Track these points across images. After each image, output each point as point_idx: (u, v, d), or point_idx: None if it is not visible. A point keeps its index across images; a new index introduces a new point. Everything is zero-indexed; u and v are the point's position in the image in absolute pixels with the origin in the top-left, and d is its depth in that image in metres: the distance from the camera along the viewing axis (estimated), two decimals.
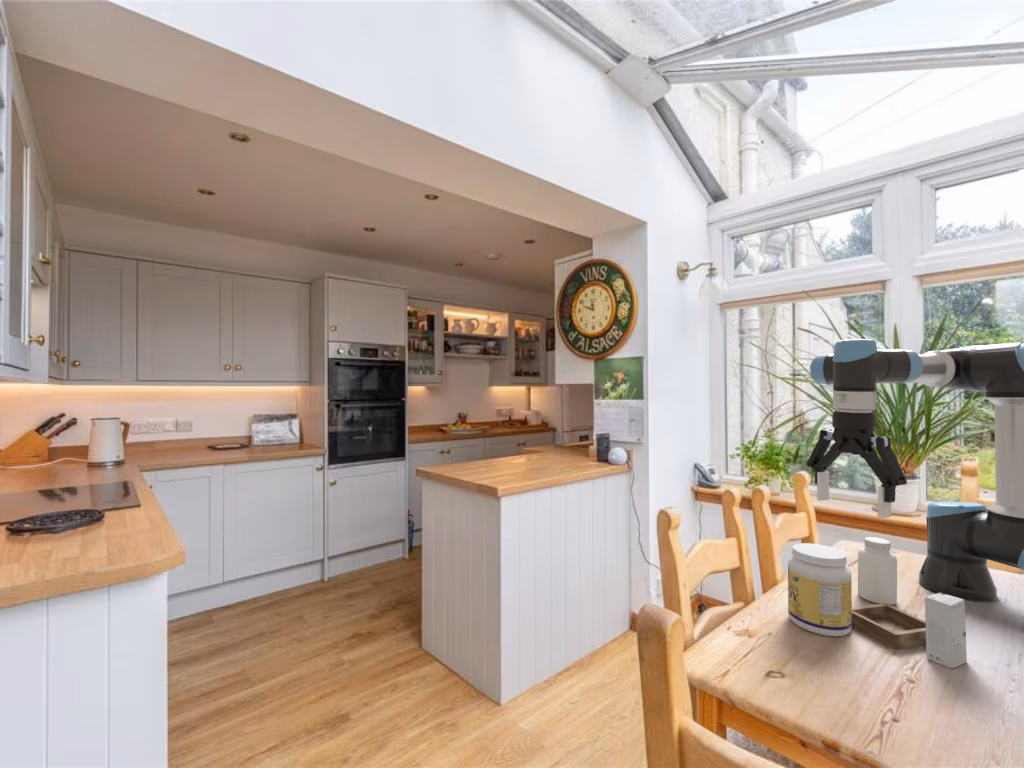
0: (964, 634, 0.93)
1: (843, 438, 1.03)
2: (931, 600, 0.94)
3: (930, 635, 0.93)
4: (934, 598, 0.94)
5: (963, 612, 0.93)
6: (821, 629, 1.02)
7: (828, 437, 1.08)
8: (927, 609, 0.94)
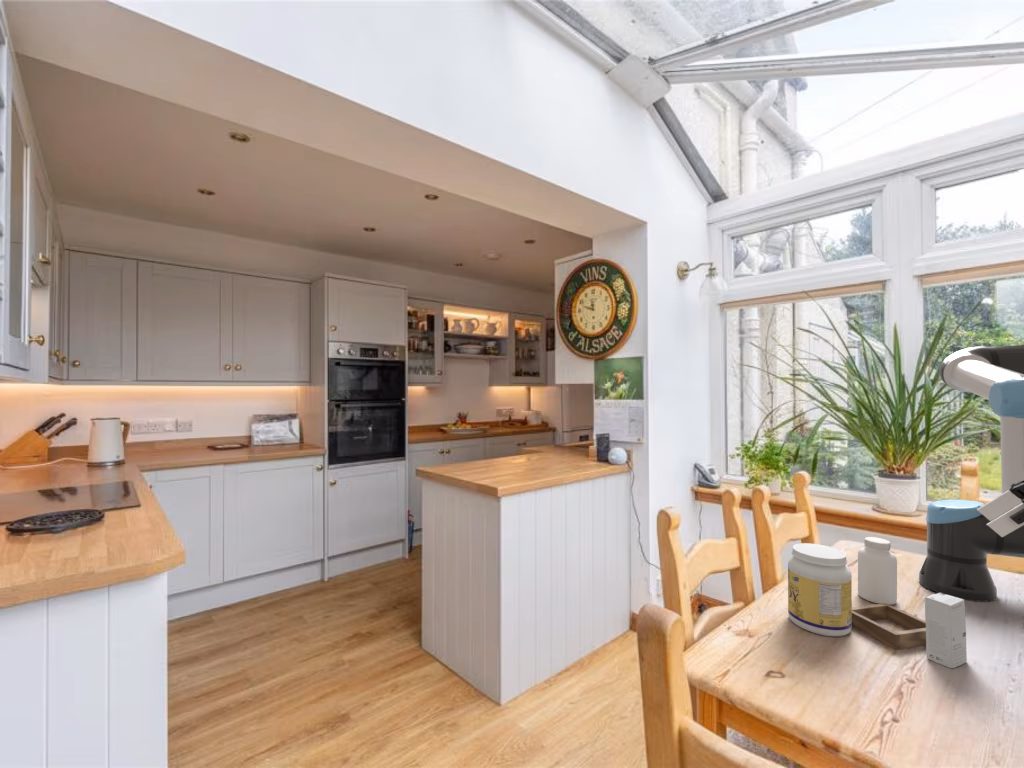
0: (964, 634, 0.93)
1: None
2: (931, 600, 0.94)
3: (930, 635, 0.93)
4: (934, 598, 0.94)
5: (963, 612, 0.93)
6: (821, 629, 1.02)
7: None
8: (927, 609, 0.94)
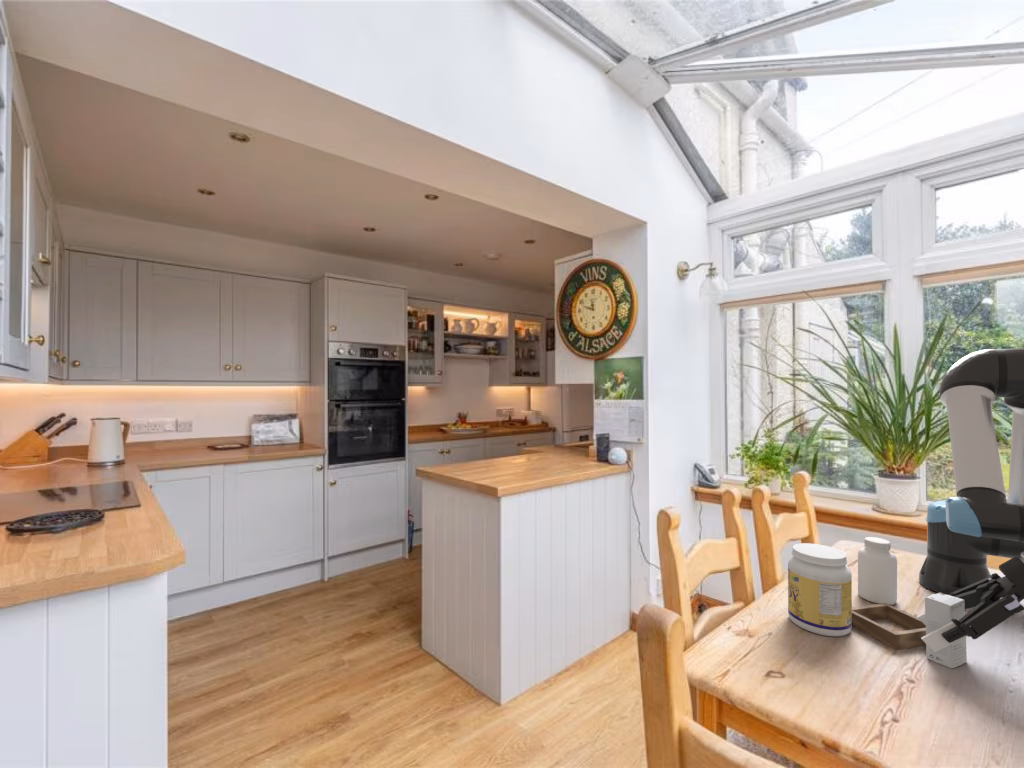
0: None
1: None
2: (931, 600, 0.94)
3: None
4: (934, 598, 0.94)
5: (963, 612, 0.93)
6: (821, 629, 1.02)
7: None
8: (927, 609, 0.94)
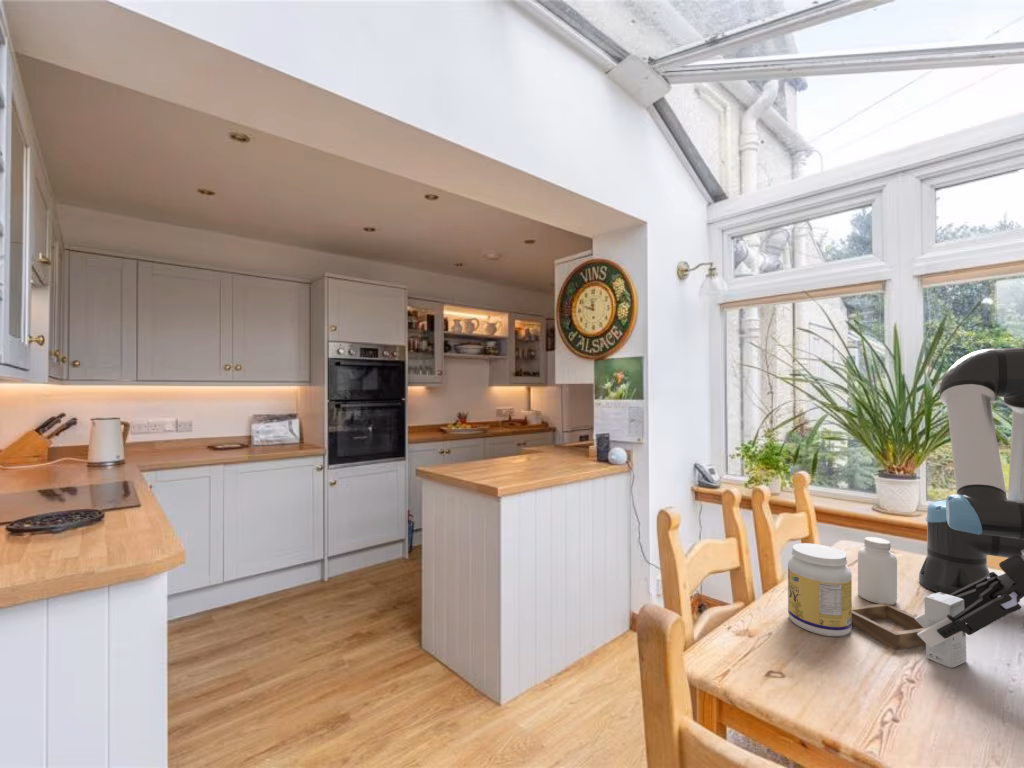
0: (963, 633, 0.93)
1: None
2: (930, 600, 0.94)
3: None
4: (933, 598, 0.94)
5: None
6: (821, 629, 1.02)
7: None
8: (926, 608, 0.94)
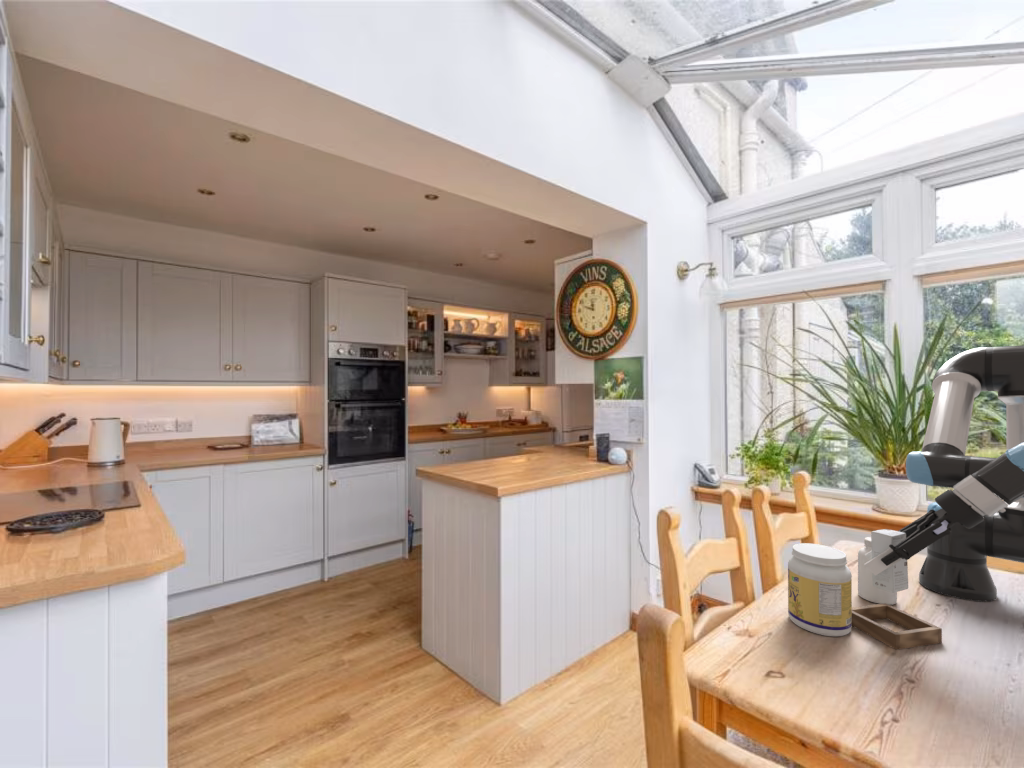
0: (905, 563, 1.03)
1: None
2: (876, 533, 1.04)
3: None
4: (878, 532, 1.04)
5: None
6: (821, 629, 1.02)
7: None
8: (873, 542, 1.05)
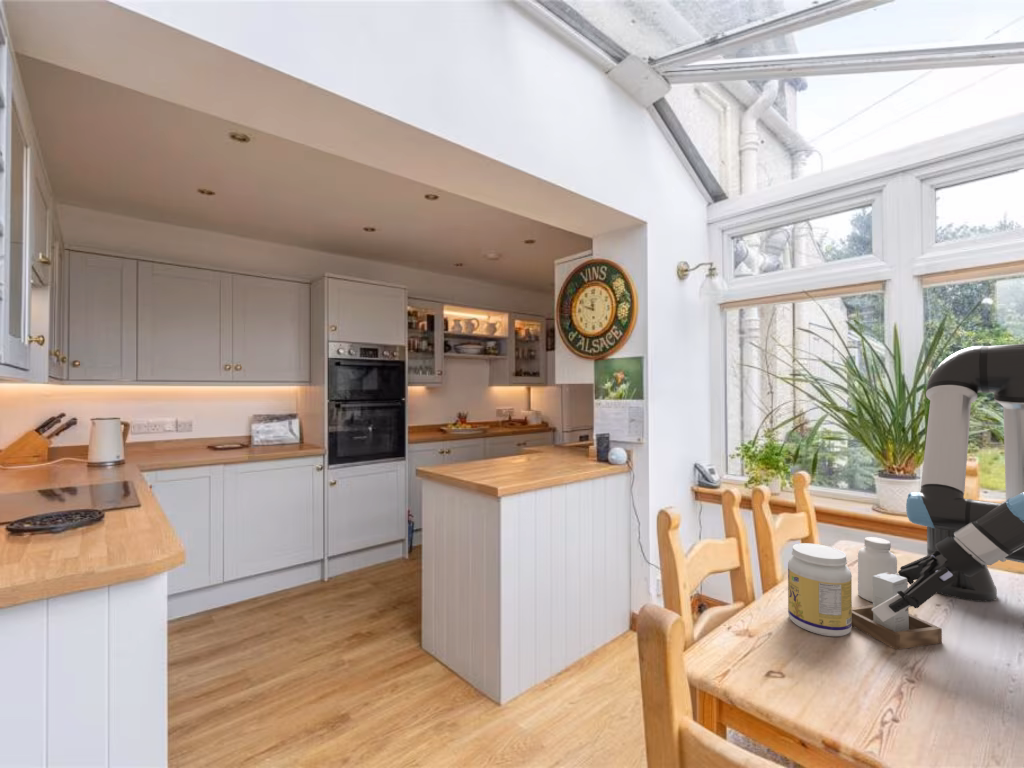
0: (906, 609, 1.03)
1: None
2: (877, 579, 1.04)
3: None
4: (880, 577, 1.04)
5: (906, 589, 1.04)
6: (821, 629, 1.02)
7: None
8: (874, 586, 1.05)
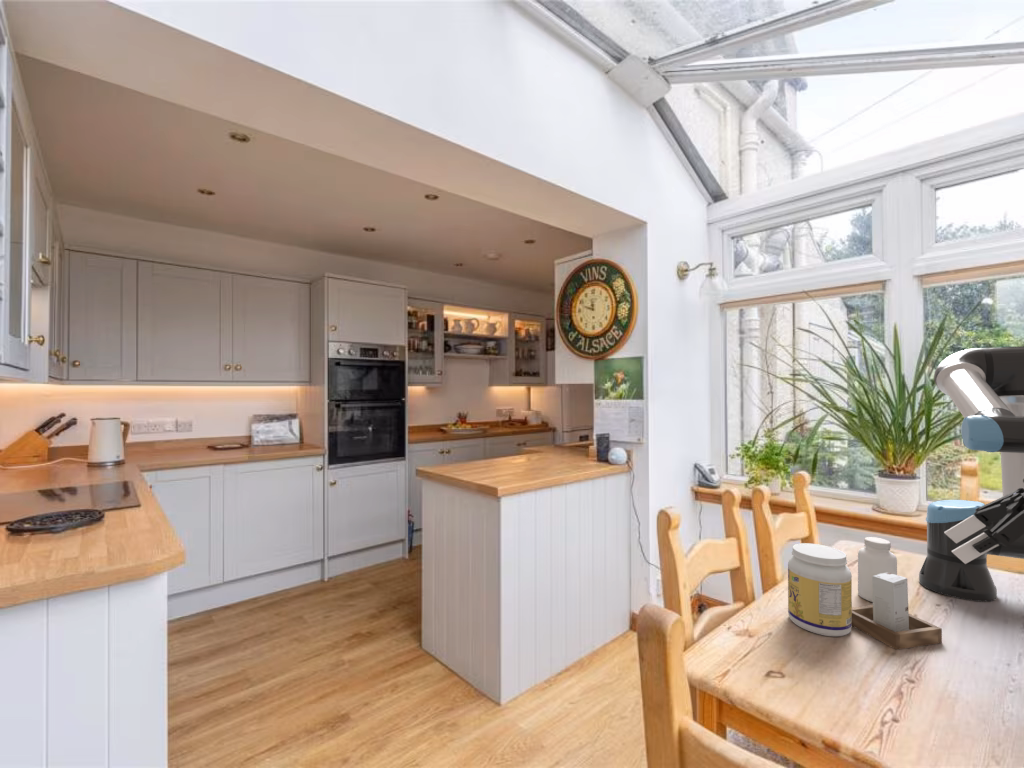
0: (906, 609, 1.03)
1: None
2: (877, 579, 1.04)
3: (876, 610, 1.04)
4: (880, 577, 1.04)
5: (906, 589, 1.04)
6: (821, 629, 1.02)
7: None
8: (874, 586, 1.05)
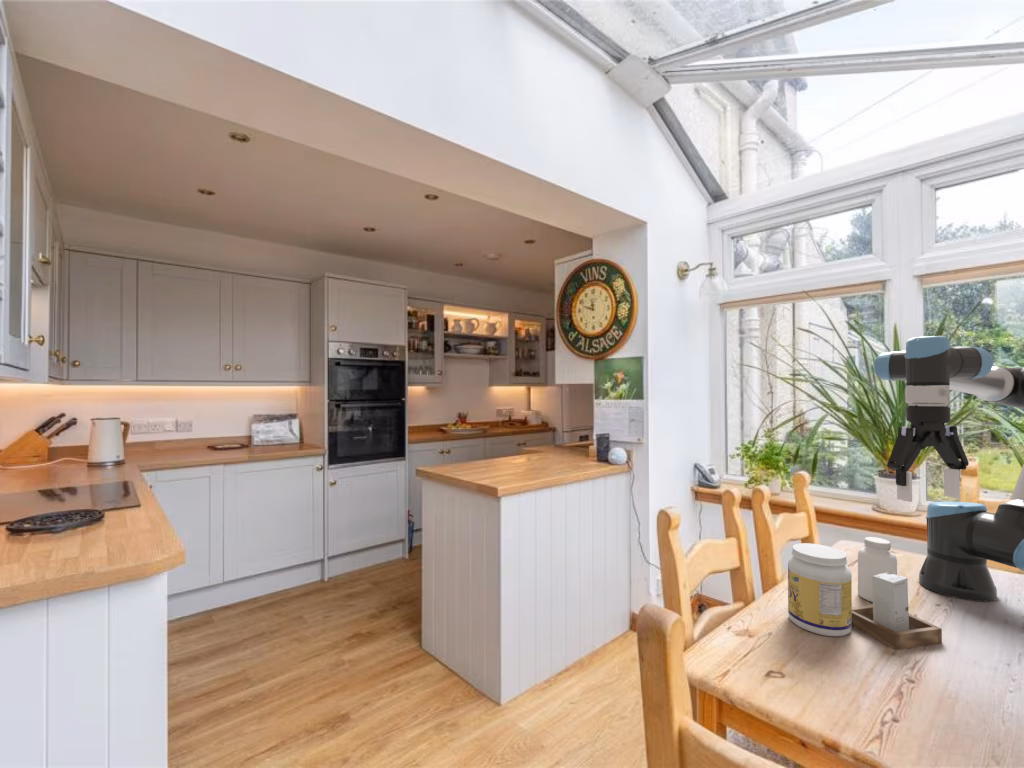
0: (906, 609, 1.03)
1: None
2: (877, 579, 1.04)
3: (876, 610, 1.04)
4: (880, 577, 1.04)
5: (906, 589, 1.04)
6: (821, 629, 1.02)
7: None
8: (874, 586, 1.05)
